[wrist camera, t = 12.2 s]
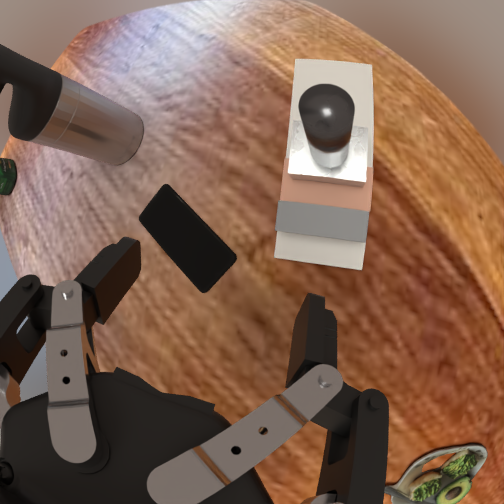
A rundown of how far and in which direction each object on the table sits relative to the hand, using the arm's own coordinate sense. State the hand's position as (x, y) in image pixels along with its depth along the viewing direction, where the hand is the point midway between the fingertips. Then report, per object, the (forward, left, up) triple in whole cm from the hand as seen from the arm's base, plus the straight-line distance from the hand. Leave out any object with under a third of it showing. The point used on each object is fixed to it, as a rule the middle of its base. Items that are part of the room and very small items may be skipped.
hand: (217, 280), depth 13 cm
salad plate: (+47, -9, -23) cm, 53 cm away
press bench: (-4, +13, -22) cm, 26 cm away
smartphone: (-12, -7, -23) cm, 27 cm away
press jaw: (-4, +12, -20) cm, 23 cm away
